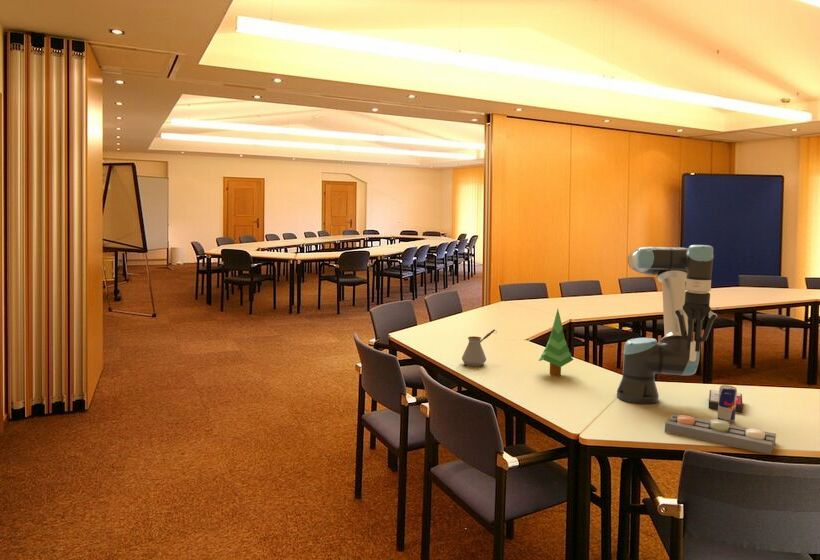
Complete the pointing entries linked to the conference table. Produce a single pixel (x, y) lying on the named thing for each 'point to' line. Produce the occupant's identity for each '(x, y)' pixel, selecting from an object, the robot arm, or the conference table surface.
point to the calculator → (715, 399)
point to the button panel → (721, 435)
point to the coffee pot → (475, 351)
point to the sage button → (719, 425)
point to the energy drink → (727, 403)
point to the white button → (755, 434)
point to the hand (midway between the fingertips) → (692, 360)
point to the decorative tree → (556, 348)
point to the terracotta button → (686, 420)
